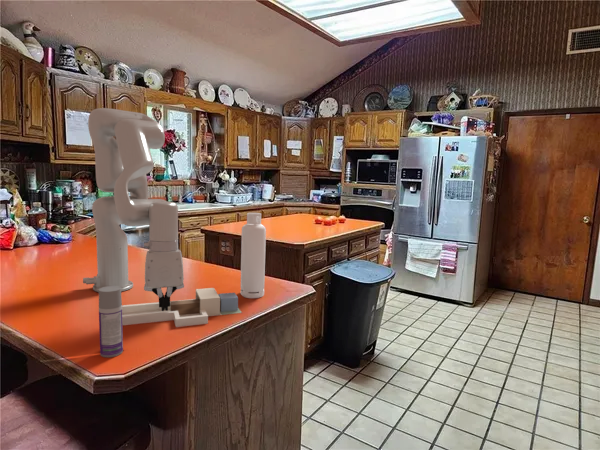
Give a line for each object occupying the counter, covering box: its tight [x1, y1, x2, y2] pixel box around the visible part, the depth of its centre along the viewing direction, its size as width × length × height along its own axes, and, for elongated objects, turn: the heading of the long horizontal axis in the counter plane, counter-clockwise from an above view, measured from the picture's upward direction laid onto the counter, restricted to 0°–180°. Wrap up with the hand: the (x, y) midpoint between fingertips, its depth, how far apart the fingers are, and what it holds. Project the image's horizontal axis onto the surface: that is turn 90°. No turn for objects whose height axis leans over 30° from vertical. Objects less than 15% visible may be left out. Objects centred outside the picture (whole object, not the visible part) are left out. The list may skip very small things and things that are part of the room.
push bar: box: [170, 298, 221, 315], centre depth 115 cm, size 14×3×3 cm, turn 111°
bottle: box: [239, 212, 267, 299], centre depth 132 cm, size 8×8×28 cm
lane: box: [122, 287, 243, 328], centre depth 111 cm, size 33×15×6 cm, turn 113°
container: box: [98, 286, 124, 358], centre depth 88 cm, size 5×5×15 cm
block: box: [217, 292, 239, 312], centre depth 118 cm, size 5×5×4 cm
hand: (164, 309), depth 111 cm, fingers closed
